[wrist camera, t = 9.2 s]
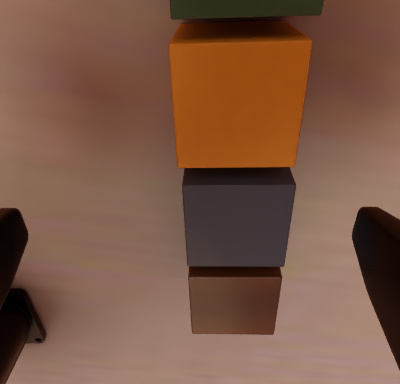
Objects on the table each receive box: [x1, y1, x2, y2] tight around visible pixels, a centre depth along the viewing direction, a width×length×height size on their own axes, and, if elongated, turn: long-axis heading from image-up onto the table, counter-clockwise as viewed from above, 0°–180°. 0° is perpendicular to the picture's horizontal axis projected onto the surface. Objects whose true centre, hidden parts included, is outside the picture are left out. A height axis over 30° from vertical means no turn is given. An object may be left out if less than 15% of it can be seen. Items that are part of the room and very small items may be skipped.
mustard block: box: [168, 21, 312, 168], centre depth 15 cm, size 5×5×5 cm
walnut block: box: [188, 266, 282, 335], centre depth 22 cm, size 5×5×5 cm
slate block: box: [182, 167, 296, 267], centre depth 19 cm, size 5×5×5 cm
